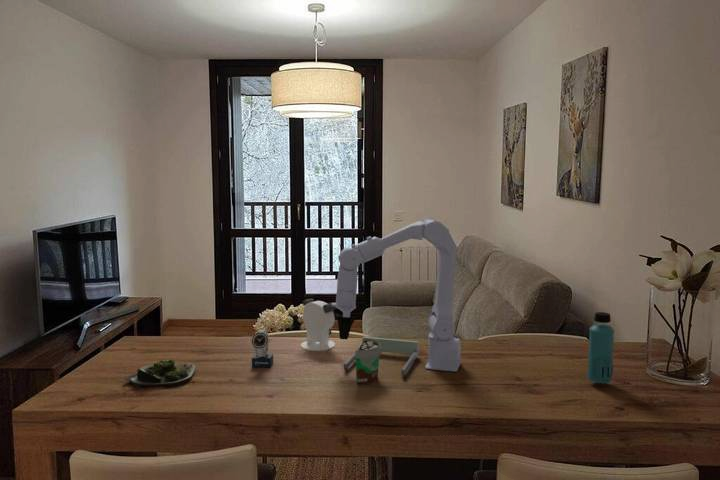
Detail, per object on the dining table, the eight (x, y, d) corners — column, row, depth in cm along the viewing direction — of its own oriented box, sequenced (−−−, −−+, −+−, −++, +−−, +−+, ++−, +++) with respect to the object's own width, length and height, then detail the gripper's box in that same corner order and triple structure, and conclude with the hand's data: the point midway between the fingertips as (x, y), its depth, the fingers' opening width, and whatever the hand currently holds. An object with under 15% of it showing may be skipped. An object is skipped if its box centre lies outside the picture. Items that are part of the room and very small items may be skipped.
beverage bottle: (600, 390, 160) (604, 317, 157) (581, 382, 166) (584, 311, 163) (617, 386, 163) (621, 314, 160) (597, 378, 169) (601, 309, 166)
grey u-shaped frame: (418, 356, 187) (418, 341, 187) (404, 378, 169) (404, 361, 168) (363, 351, 193) (363, 336, 192) (343, 371, 174) (343, 355, 174)
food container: (377, 387, 162) (377, 352, 161) (355, 386, 164) (355, 350, 162) (385, 372, 174) (385, 338, 173) (364, 370, 176) (364, 337, 174)
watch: (250, 370, 176) (249, 334, 175) (256, 361, 184) (255, 326, 183) (269, 370, 176) (268, 334, 174) (274, 361, 184) (273, 326, 182)
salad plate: (143, 365, 182) (142, 350, 181) (202, 364, 183) (201, 349, 182) (120, 389, 163) (119, 373, 162) (186, 388, 163) (185, 372, 163)
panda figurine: (343, 345, 199) (343, 301, 197) (319, 353, 191) (319, 307, 189) (317, 338, 207) (317, 295, 205) (293, 346, 199) (292, 301, 197)
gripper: (332, 283, 180) (328, 327, 182) (333, 294, 166) (330, 341, 168) (355, 284, 181) (351, 328, 183) (359, 295, 167) (355, 343, 169)
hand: (343, 335), depth 175 cm, fingers open, 7 cm apart
